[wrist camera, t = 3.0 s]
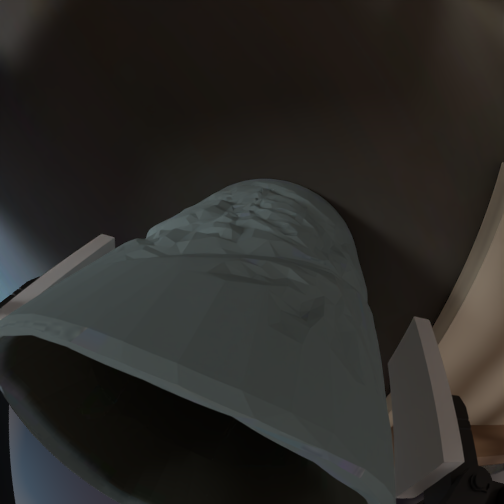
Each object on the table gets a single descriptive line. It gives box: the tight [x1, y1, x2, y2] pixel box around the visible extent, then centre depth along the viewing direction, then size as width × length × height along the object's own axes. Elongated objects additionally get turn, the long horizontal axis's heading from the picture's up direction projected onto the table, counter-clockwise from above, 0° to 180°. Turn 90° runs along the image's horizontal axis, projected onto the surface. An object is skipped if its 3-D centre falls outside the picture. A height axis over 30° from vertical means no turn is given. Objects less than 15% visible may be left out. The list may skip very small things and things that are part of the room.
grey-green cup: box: [0, 179, 396, 504], centre depth 10 cm, size 10×10×12 cm
